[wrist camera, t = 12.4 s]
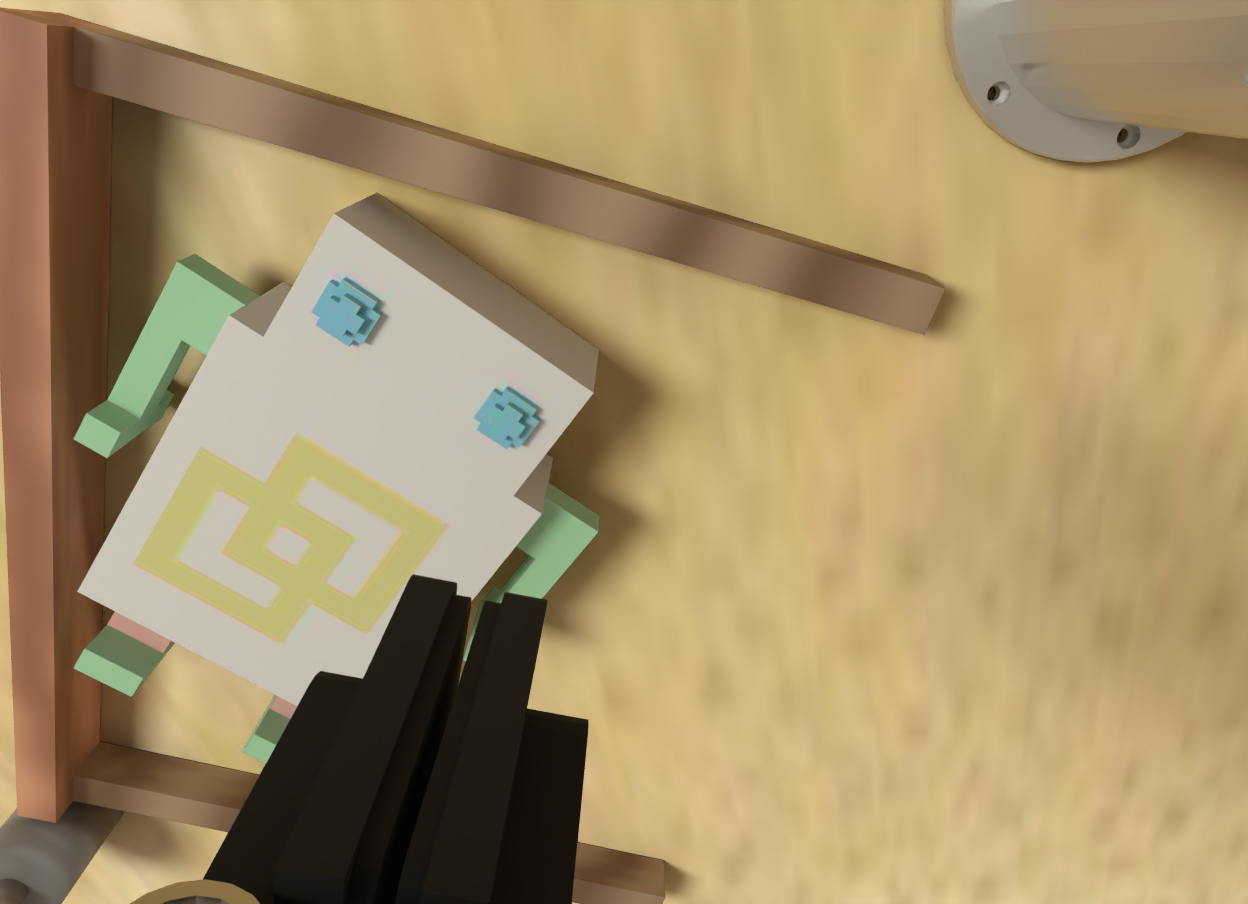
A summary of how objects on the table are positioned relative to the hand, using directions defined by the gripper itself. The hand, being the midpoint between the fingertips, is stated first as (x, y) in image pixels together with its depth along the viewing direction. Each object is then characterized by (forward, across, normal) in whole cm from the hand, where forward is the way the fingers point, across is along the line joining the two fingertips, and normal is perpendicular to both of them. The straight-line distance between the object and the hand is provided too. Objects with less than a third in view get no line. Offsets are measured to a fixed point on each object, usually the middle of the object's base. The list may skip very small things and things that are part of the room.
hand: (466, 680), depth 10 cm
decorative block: (+28, +10, +14) cm, 33 cm away
